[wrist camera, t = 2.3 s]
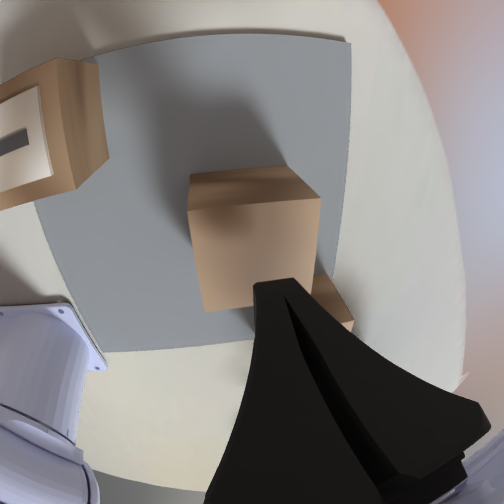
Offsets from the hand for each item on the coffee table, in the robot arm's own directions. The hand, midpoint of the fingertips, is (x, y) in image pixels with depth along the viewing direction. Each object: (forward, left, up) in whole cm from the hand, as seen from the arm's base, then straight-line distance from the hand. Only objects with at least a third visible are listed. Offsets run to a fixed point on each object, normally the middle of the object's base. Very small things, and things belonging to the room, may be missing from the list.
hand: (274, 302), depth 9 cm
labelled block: (-9, +6, -7) cm, 13 cm away
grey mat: (-3, -1, -7) cm, 8 cm away
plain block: (0, 0, -7) cm, 7 cm away
